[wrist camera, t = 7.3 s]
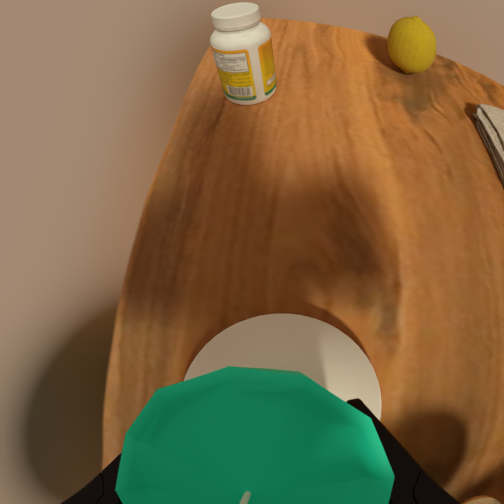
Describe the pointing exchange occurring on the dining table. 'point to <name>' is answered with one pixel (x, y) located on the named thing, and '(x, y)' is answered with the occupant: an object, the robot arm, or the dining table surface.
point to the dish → (294, 354)
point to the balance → (480, 500)
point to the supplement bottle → (243, 53)
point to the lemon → (411, 45)
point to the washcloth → (492, 133)
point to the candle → (252, 444)
